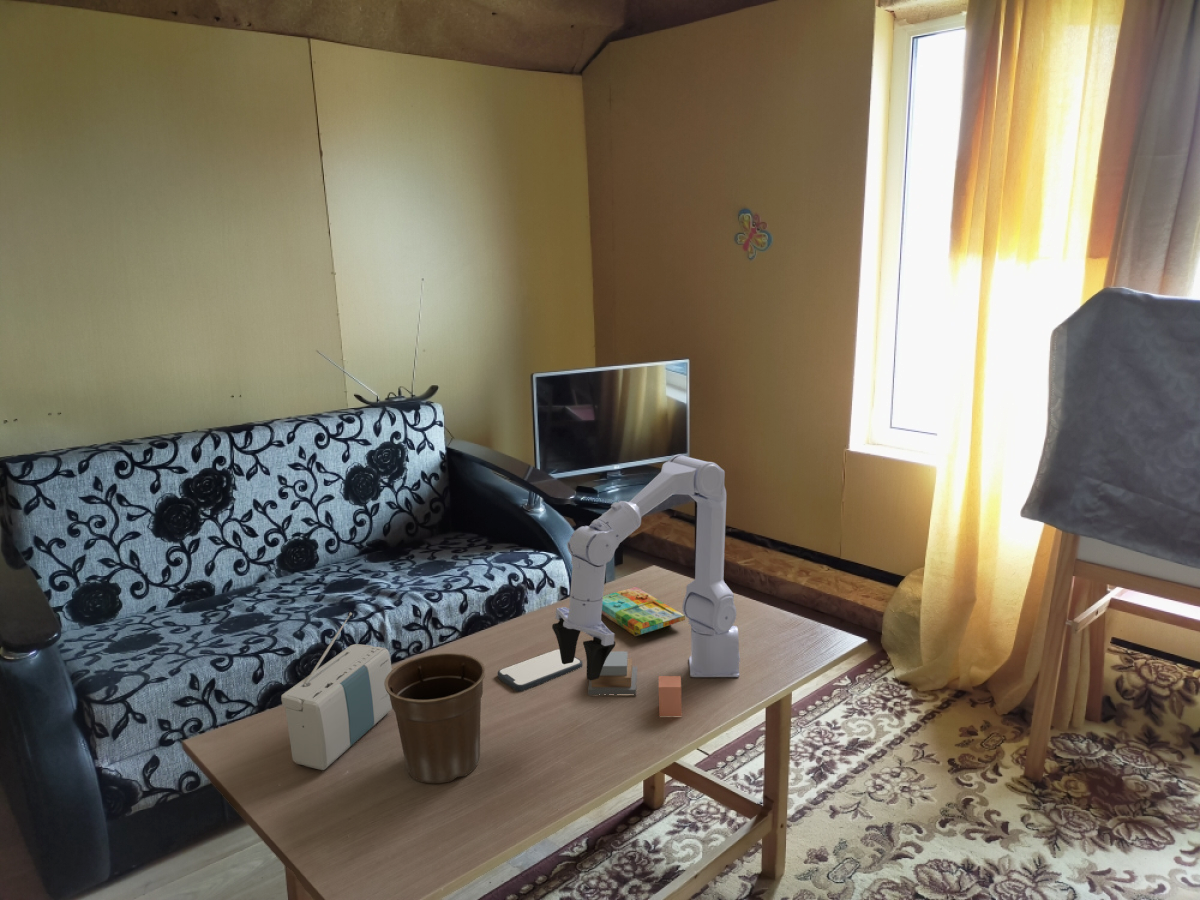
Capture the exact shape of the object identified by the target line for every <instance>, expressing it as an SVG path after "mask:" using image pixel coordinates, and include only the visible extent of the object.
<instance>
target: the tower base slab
mask: <svg viewBox="0 0 1200 900" xmlns="http://www.w3.org/2000/svg"><path fill="white" fill-rule="evenodd" d="M637 677H638V666H632V682H631V687H592V681H591V680H588V681H589V682H588V687H587V692H588V693H587V694H588V695H599V694H600V695H604V694H606V695H609V694H614V695H617V694H634V695H636V696H637V684H636V682H638V681H637V680H638V678H637ZM588 695H587V696H588Z"/></svg>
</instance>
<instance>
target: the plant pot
mask: <svg viewBox="0 0 1200 900" xmlns="http://www.w3.org/2000/svg"><path fill="white" fill-rule="evenodd" d="M485 676H486V666H485V664H484V663H483V662H482V661H481V660H480V659H478V658H476V657H475V656H472V655H469V654H465V653H461V652H460V653H459V652H439V653H431V654H426V655H421V656H418V657H415V658H411V659H409V660H407V661H405V662H403V663H400V664H399V665H398V666H396V667H395V668H393V669H392V671H391V672H390V673H389V674H388V675H387V677H386V679H385V682H384V685H385V689H386V691H387V693H388V694H389V696H390V700H391V705H392V708H393V709H392V710H393V712H394V713H395V718H396V723H397V724H396V725H397V729H398V732H399V738H400V742H401V748H402V751H403V752H402V753H403V757H404V762H405V763H404V764H405V768H406V771H407V772H408V773H409V775H410V776H411V778H413V779H414V780H416V781H418V782H421V783H426V784H443V783H445V784H446V783H450V782H453V781H454V780H455V779H456V778H458V777H465V776H467V775H469V774H470V773H471V772H472V771H473V770H475V769H476V767H477V766H478V764H479V762H480V759H481V712H482V711H481V709H482V707H481V706H482V705H481V701H482V696H483V692H484V691H483V690H484V689H483V687H484V682H483V681H484V679H485Z"/></svg>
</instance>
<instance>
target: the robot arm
mask: <svg viewBox="0 0 1200 900" xmlns="http://www.w3.org/2000/svg"><path fill="white" fill-rule="evenodd" d="M725 474H726V472H725V470H724V469H723V468H721V466H719V465H718V464H717V463H716V462H713V461H705V460H702V459H698V458H694V457H690V456H686V455H684V454H679V453H678V454H675V455H673V456H672V457H670V459H669V460H667V461H665V462H664V463H663V464H662V466H661V471H660V472H659V473H658V474H657V475H656V476H655V477H654V478H653V479H652V480H651V481H650V482H649V483H647V485H646V486H644V488H642V489H641V490H640V491H639V492H638V493H637V494H636V495H635V496H633V498H632V499H631V500H629V501H624V500H620V501H618V502H617V501H615V502H614V503H611V505H610V508H609V509H608V510H607V511H605V512H604V513H603V514H601V516H599V517H598V518H596V519H594V520H593V521H591V523H590V525H584V526H583V525H582V526H580V527H578V528H577V529H575V530H574V531H573V532H572V534H571V536H570V538H569V541H567V542H566V546H567V551H568V552H569V554H570V557H571V565H572V570H571V582H570V593H569V594H570V595H569V605H568V607H565V606H563V607H557V608H556V609H555V619H556V620H557V621H558V622H556V623H553V624H551V625H552V626H551V627H552V631H553V633H554V634H555V638H556V640H557V644H558V649H560V655H561V661H562V664H568V663H573V661H574V657H576V652H577V651H576V650H577V644H578V641H579V636H580V633H581V632H583V633H585V634H586V635H588V636H590V637H592V638H593V639H590V640H585V641H584V640H583V642H582V645H583V648H584V651H585V657H586V679H587V680H588V681H590V680H595V679H599V676H600V673H601V670H602V668H603V665H604V663H605V660H606V659H607V657H608V655H609V653H610V652H613V649H614V648H615V647H616V641H615V635H616V633H614V631H613V632H612V630H610V629H609V628H608V627H607V626H606V624H605V623H604V622H603V621H602V615H603V614H602V603H603V596H604V589H605V578H606V568H607V563H609V562H611V560H612V559H613V558H614V555H615V552H616V550H617V549H618V548H619V545H620V543H622V542H623V541H624V540H626V539H627V538H628V537H629V536H630V535H632V533H634V532H635V531H636V530H638V529H639V528H640V526H641V524H642V518H643V516H645V515H647V514H648V513H649V512H650V511H652V510H653V509H655V508H656V507H657V506H659V505H661V503H663V502H664V501H666V500H667V499H669V498H670V497H671V496H672V495H684V496H689V497H690V498H692V499H693V500H694V501H695V502H696V506H697V507H696V532H695V533H696V539H695V541H696V542H695V568H694V569H695V572H694V573H695V575H694V580H692V581H691V582H689V583H688V584H687V585H686V589H685V591H686V592H685V597H684V599H683V601H682V604H681V605H682V614H683V615H685V618H687V619H688V625H690V634H691V635H690V637H691V639H690V641H691V642H690V643H691V644H690V645H691V655H690V656H689V659H688V661H689V662H688V663H689V676H690V677H692V678H738V677H740V663H741V658H740V654H741V653H740V642H739V640H740V638H739V628H738V626H737V625H734V624H735V622H736V619H737V607H736V605H735V602H734V601H735V600H734V596H735V595H734V593H733V591H732V589H730V587H729V586H728V585H727V583H725V580H724V578H725V577H724V573H725V572H724V570H725V547H726V543H725V542H726V521H727V520H726V519H727V518H726V517H727V514H726V513H727V490H726V487H725V476H726V475H725Z"/></svg>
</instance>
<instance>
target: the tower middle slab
mask: <svg viewBox="0 0 1200 900" xmlns="http://www.w3.org/2000/svg"><path fill="white" fill-rule="evenodd" d="M632 667H633V659H632V658H628V664H627V676H599V679H595V680H591V681H592V687H631V682H632Z"/></svg>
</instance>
